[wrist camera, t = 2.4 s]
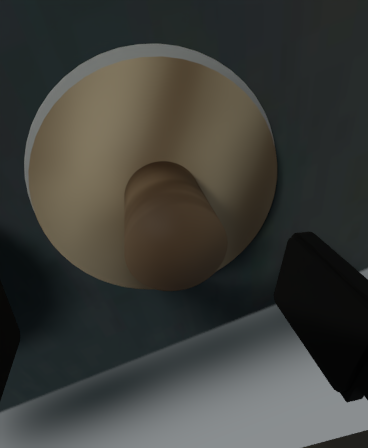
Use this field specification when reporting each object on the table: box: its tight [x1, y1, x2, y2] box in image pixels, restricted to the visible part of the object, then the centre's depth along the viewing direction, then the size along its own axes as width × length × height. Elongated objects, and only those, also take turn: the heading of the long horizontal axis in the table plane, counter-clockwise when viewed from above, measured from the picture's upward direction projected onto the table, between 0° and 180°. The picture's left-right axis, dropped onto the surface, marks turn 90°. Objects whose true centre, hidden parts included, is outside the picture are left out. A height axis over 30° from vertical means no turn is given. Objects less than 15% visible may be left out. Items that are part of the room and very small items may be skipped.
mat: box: [24, 44, 275, 212], centre depth 16 cm, size 14×14×1 cm
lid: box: [28, 56, 277, 291], centre depth 13 cm, size 13×13×6 cm
